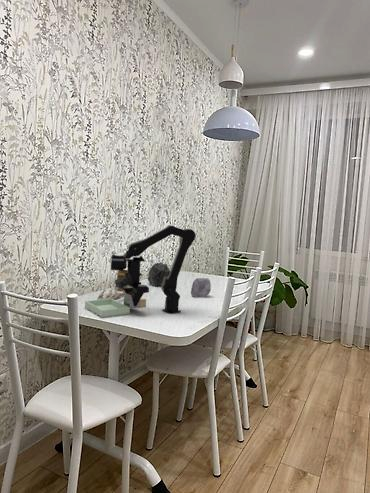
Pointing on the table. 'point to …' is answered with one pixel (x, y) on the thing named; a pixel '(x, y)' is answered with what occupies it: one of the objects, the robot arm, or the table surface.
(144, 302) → the carton
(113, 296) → the skeleton model
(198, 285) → the rock
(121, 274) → the wooden mug
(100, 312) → the tote
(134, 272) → the robot arm
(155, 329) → the table surface
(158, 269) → the rock
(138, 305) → the tea tin
